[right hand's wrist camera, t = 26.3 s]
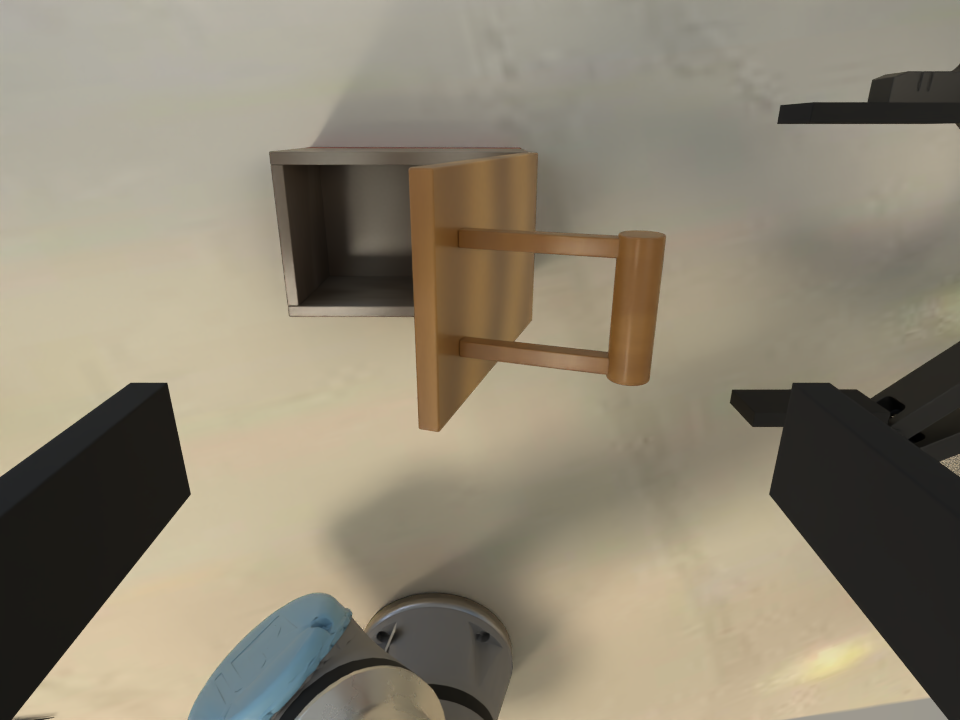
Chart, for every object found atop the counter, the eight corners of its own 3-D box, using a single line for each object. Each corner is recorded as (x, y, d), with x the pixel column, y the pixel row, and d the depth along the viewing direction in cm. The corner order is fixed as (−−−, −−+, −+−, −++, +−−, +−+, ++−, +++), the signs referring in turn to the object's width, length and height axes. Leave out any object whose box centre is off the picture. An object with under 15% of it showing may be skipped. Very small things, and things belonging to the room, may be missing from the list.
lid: (417, 429, 23) (638, 465, 21) (407, 167, 20) (672, 173, 17) (518, 319, 37) (658, 333, 35) (522, 152, 34) (679, 154, 31)
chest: (323, 283, 46) (288, 317, 37) (310, 147, 42) (268, 151, 34) (516, 283, 46) (524, 317, 37) (520, 147, 42) (529, 152, 34)
